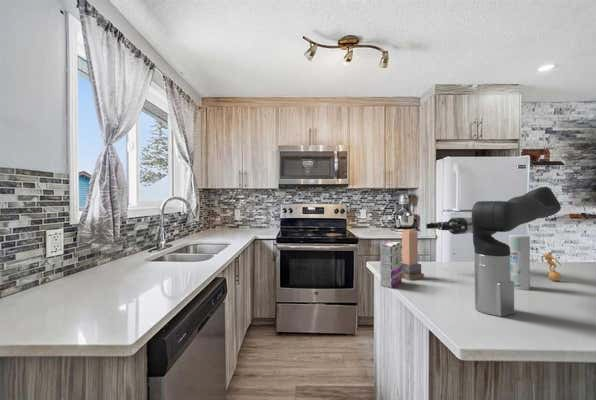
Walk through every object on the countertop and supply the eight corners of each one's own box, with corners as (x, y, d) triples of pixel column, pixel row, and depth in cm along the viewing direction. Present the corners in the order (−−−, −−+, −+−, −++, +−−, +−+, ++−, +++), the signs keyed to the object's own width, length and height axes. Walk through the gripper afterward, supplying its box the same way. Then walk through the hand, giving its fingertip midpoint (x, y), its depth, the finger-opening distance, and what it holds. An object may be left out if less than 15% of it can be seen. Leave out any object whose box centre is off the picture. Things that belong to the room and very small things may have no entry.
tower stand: (424, 278, 132) (423, 264, 132) (409, 280, 129) (409, 266, 129) (410, 274, 140) (410, 261, 140) (396, 276, 137) (396, 262, 137)
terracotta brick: (417, 264, 133) (417, 230, 133) (409, 264, 131) (409, 230, 132) (410, 262, 137) (410, 229, 137) (402, 262, 136) (402, 229, 136)
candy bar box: (390, 280, 129) (389, 241, 129) (401, 282, 126) (401, 242, 126) (379, 286, 120) (379, 244, 120) (392, 288, 117) (391, 245, 117)
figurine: (568, 283, 123) (568, 253, 123) (555, 284, 122) (554, 253, 122) (549, 278, 131) (549, 250, 131) (536, 278, 130) (536, 250, 130)
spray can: (534, 289, 114) (534, 236, 114) (517, 290, 114) (516, 236, 114) (521, 285, 121) (521, 234, 121) (505, 285, 121) (504, 234, 121)
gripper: (448, 216, 147) (422, 217, 141) (475, 218, 134) (447, 219, 128) (448, 232, 147) (422, 233, 141) (475, 235, 134) (447, 237, 128)
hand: (434, 226), depth 134 cm, fingers open, 8 cm apart
